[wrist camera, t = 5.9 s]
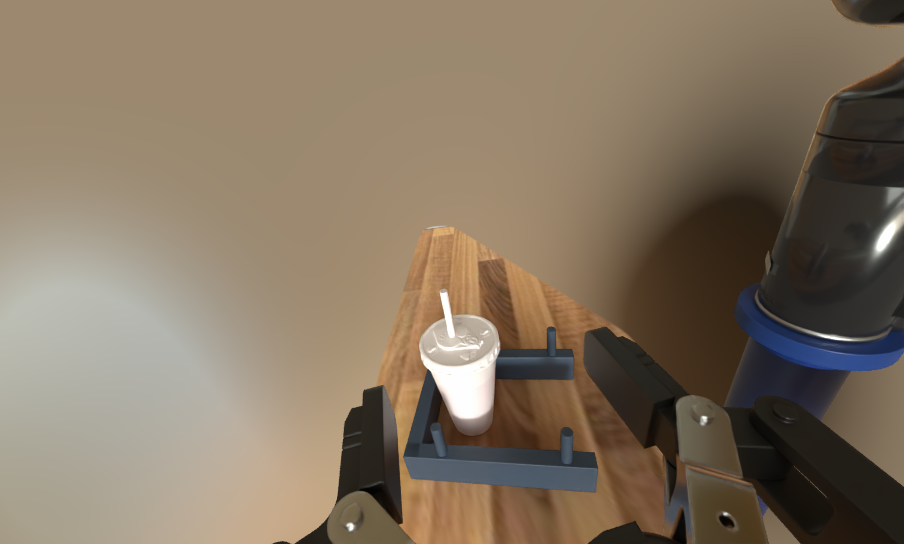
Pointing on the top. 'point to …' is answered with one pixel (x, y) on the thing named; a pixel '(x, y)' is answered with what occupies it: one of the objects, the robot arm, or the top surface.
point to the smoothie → (463, 366)
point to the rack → (497, 462)
